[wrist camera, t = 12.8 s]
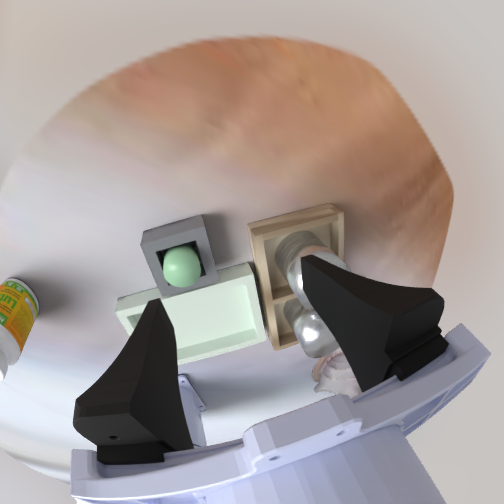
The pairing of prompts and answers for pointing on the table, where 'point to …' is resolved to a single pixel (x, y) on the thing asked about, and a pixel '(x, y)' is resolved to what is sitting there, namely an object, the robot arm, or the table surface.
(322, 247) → the cylinder
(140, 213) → the table surface
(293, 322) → the billet
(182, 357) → the pale green tray
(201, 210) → the table surface
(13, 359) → the supplement bottle
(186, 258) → the button
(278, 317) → the divided tray
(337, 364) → the seashell
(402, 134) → the table surface
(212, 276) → the frame
